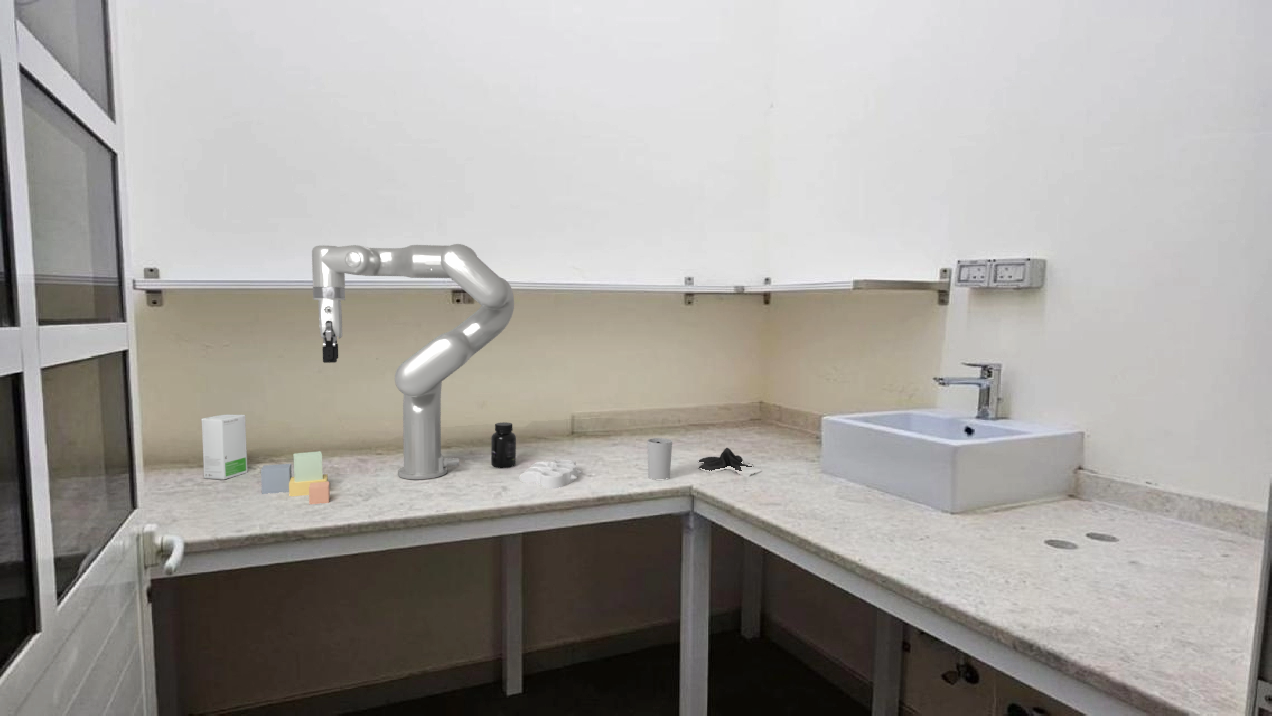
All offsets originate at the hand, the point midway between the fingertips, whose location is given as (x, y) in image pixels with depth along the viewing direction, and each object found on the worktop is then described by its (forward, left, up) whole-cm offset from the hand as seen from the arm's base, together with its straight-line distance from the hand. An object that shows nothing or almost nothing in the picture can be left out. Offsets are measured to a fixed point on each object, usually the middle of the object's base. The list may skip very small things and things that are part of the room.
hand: (330, 360), depth 175 cm
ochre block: (+5, +14, -31) cm, 34 cm away
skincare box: (+26, -8, -31) cm, 41 cm away
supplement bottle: (-44, +4, -31) cm, 54 cm away
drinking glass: (-81, +29, -31) cm, 91 cm away
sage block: (+5, +14, -27) cm, 31 cm away
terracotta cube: (+2, +23, -30) cm, 38 cm away
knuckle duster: (-54, +21, -31) cm, 66 cm away
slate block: (+12, +11, -30) cm, 35 cm away
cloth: (-105, +24, -31) cm, 112 cm away
